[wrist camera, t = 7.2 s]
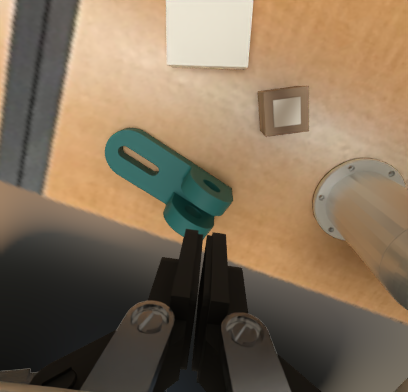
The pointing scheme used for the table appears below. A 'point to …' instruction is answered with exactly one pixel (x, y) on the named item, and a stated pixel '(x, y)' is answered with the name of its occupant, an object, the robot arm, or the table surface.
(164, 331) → the robot arm
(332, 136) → the table surface
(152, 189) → the bracket
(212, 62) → the plain block
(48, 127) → the table surface
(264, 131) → the walnut block
